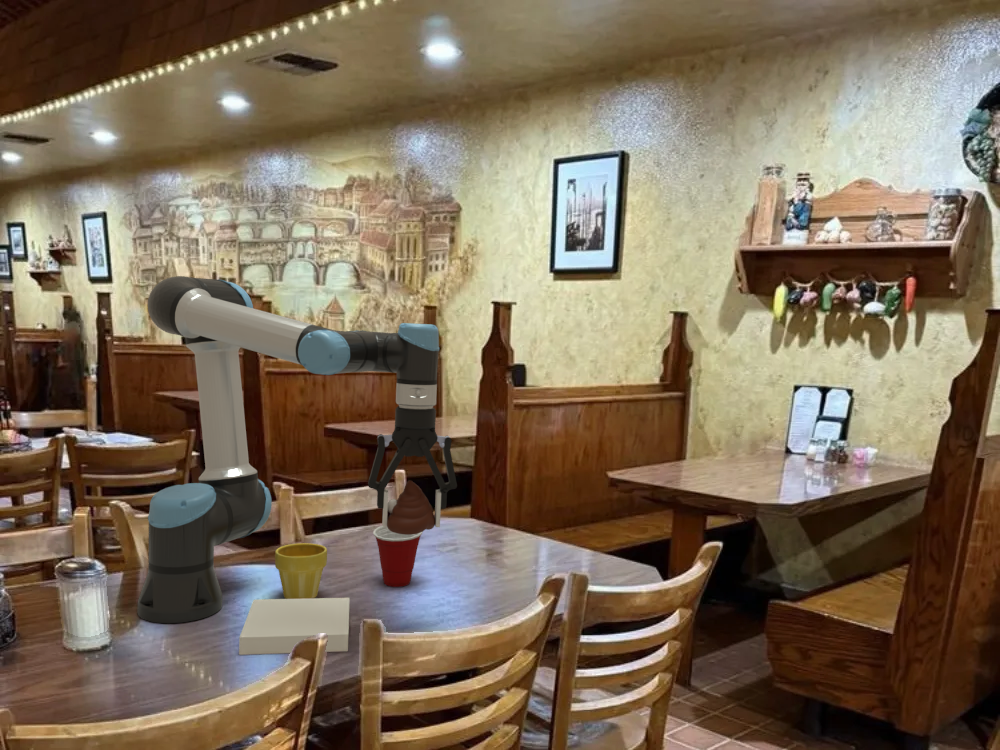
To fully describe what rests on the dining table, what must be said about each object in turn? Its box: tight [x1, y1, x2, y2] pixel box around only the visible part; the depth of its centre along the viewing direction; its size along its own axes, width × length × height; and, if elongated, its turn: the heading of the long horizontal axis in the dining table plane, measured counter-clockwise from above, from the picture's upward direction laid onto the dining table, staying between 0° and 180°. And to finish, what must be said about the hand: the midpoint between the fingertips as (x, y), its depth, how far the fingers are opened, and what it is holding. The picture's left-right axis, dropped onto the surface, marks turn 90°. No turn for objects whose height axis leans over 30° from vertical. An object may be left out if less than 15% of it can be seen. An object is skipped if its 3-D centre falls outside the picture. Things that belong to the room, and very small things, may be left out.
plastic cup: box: [372, 525, 424, 588], centre depth 169 cm, size 11×11×12 cm
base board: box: [238, 597, 351, 656], centre depth 140 cm, size 18×18×3 cm
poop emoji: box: [387, 480, 436, 535], centre depth 144 cm, size 10×8×9 cm
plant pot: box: [274, 542, 328, 599], centre depth 158 cm, size 10×10×10 cm
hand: (410, 525), depth 145 cm, fingers closed on poop emoji, 9 cm apart
